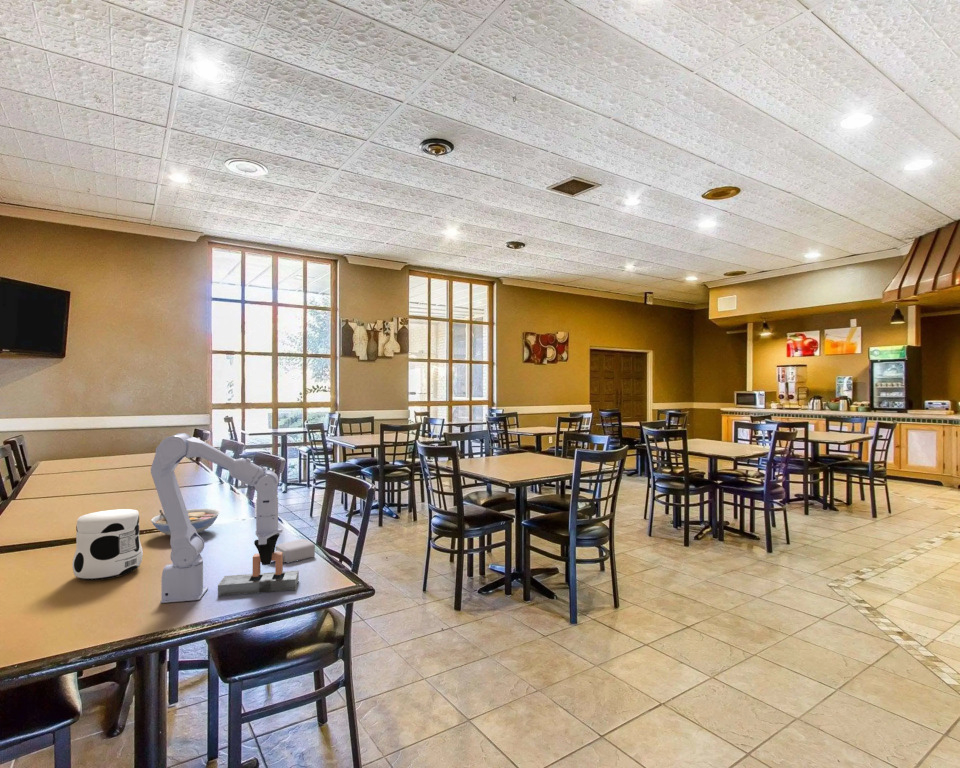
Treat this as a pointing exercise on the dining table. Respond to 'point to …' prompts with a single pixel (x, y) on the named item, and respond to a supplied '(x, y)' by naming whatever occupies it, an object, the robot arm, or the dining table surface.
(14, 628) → the dining table surface
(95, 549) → the milk container
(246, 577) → the gray rectangular frame
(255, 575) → the orange u-shaped block
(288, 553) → the charger
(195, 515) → the ramen bowl
